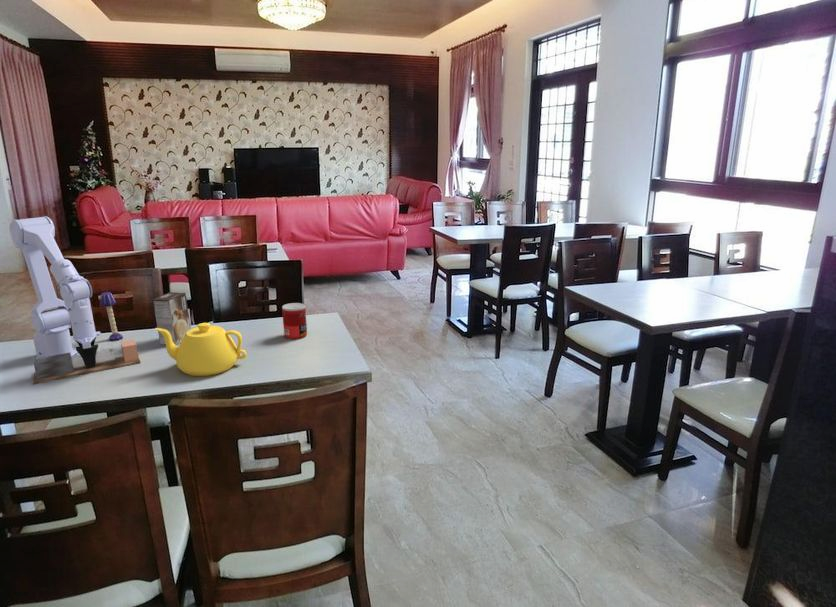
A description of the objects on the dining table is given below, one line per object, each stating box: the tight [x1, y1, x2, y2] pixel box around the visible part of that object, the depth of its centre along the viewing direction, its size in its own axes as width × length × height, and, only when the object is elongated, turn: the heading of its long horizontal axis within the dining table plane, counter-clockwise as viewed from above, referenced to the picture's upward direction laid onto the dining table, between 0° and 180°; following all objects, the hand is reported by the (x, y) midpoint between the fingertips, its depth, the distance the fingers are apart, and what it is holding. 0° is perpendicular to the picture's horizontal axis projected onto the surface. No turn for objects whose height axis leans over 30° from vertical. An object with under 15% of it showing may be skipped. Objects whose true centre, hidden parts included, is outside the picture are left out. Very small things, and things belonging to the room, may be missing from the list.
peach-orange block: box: [120, 339, 140, 363], centre depth 169 cm, size 4×5×5 cm
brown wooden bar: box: [32, 353, 141, 385], centre depth 163 cm, size 28×8×5 cm, turn 123°
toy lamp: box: [100, 291, 124, 341], centre depth 186 cm, size 5×5×17 cm
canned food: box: [281, 302, 308, 340], centre depth 189 cm, size 8×8×11 cm
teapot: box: [155, 322, 248, 377], centre depth 163 cm, size 25×18×14 cm
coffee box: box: [152, 291, 192, 346], centre depth 184 cm, size 9×6×16 cm
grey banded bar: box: [71, 348, 116, 367], centre depth 162 cm, size 19×3×3 cm, turn 123°
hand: (90, 363), depth 164 cm, fingers open, 7 cm apart
